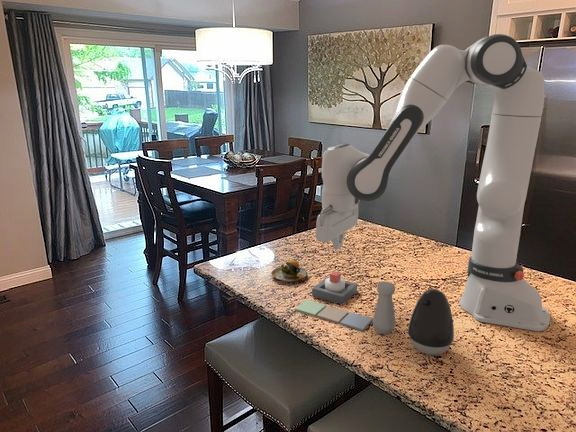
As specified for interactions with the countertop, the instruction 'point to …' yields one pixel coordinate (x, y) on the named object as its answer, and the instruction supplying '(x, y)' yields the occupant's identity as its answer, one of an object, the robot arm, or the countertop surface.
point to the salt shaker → (384, 309)
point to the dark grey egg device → (431, 323)
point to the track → (334, 315)
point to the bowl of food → (290, 272)
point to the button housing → (332, 296)
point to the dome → (335, 282)
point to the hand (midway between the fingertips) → (337, 248)
